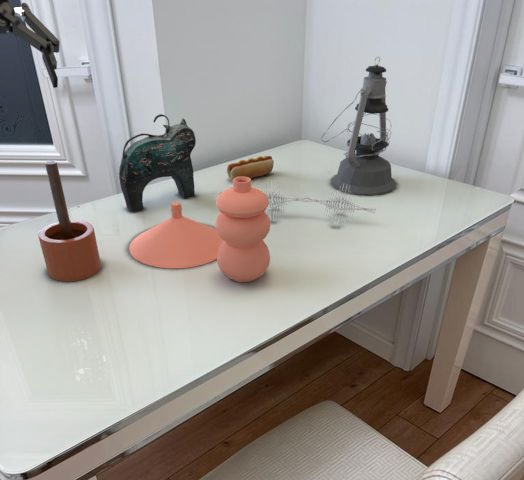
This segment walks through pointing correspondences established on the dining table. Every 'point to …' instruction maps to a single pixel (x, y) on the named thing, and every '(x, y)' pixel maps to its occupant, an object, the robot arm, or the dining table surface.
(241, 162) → the food
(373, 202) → the dining table surface
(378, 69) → the lantern
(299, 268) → the dining table surface
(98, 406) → the dining table surface
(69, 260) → the jar
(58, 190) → the pestle
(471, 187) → the dining table surface
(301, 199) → the test tube brush
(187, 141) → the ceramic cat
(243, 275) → the ceramic vessels
